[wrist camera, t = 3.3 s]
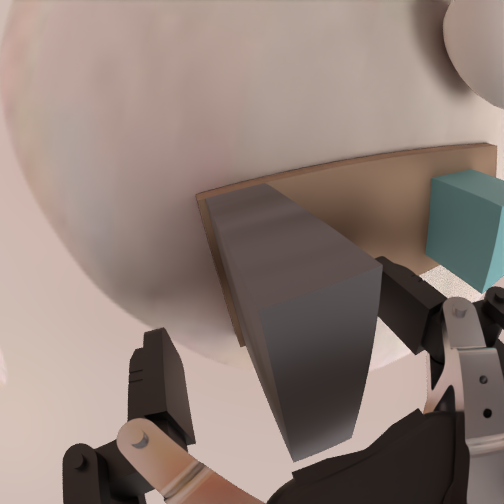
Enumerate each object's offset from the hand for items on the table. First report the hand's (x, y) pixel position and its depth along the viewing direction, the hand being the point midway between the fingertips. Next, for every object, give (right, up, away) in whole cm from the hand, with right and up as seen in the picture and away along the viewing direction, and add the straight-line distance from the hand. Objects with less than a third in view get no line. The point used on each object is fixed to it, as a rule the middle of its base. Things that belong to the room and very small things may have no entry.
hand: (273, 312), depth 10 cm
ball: (+13, +16, +1) cm, 20 cm away
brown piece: (+8, +4, +5) cm, 10 cm away
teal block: (+12, +5, +4) cm, 14 cm away
